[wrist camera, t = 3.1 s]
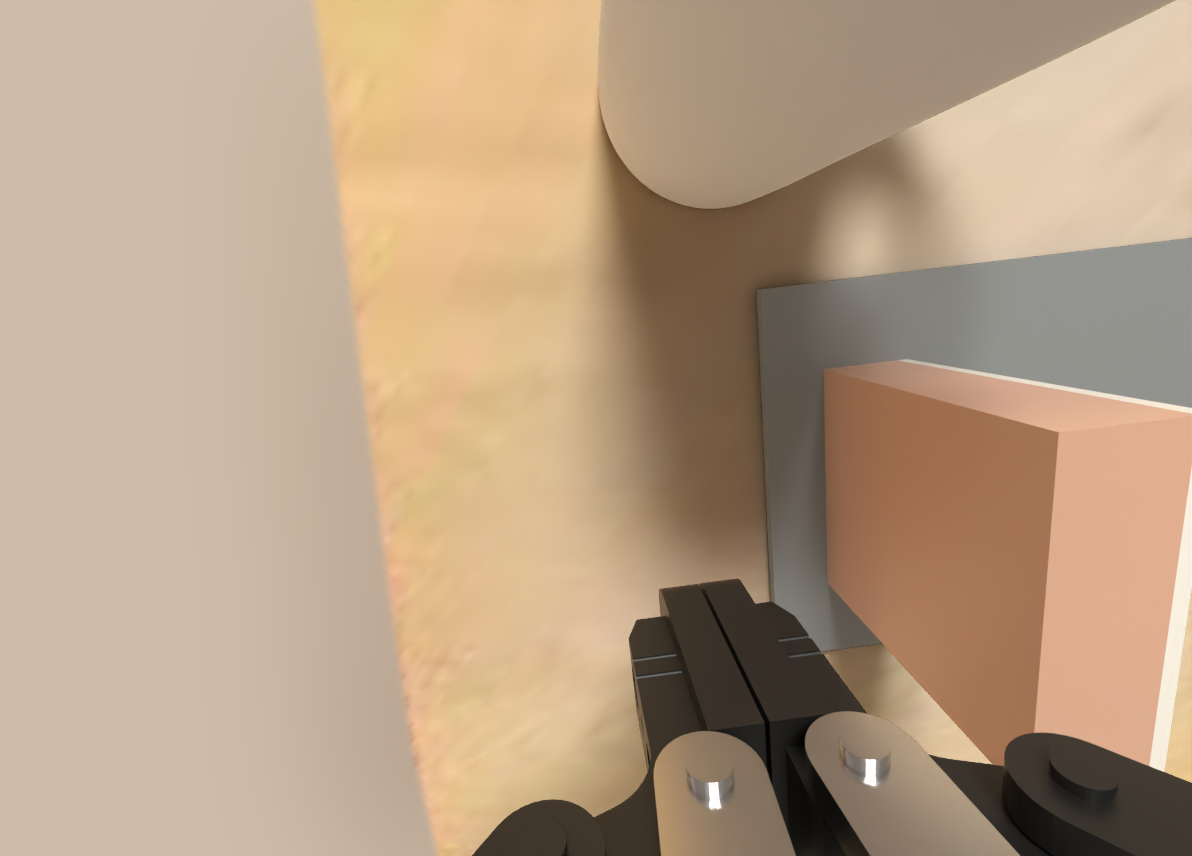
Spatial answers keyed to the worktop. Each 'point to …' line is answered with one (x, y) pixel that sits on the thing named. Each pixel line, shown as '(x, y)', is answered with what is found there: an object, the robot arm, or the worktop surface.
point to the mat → (957, 339)
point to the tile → (1015, 547)
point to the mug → (808, 78)
